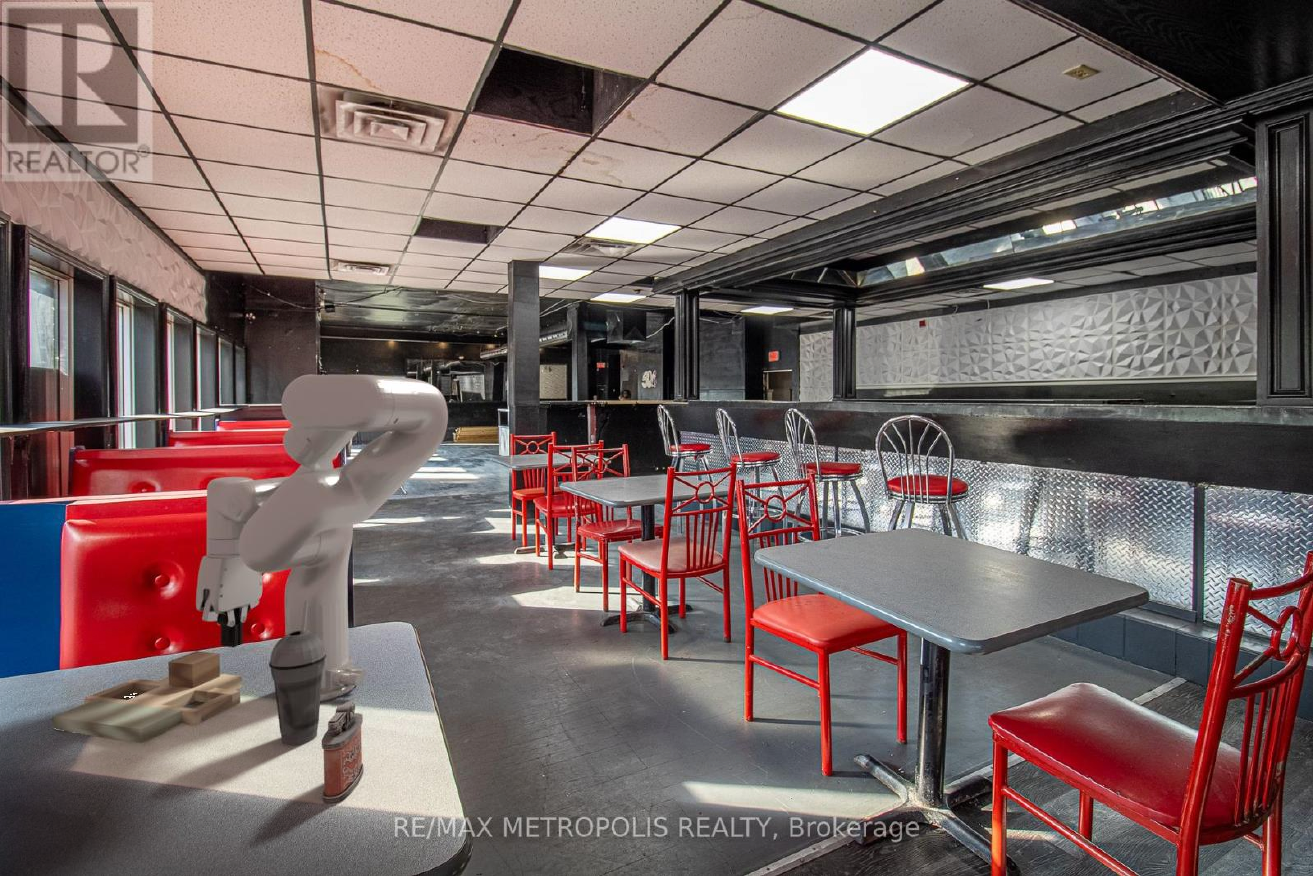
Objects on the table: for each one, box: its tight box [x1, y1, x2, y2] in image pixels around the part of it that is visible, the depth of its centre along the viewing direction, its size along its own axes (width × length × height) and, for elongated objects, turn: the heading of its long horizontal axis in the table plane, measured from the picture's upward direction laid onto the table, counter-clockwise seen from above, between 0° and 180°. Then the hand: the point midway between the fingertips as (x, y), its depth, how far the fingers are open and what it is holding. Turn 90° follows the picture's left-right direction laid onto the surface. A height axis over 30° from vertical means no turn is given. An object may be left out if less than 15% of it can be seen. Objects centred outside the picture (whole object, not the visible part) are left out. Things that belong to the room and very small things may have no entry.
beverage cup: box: [268, 601, 326, 746], centre depth 93 cm, size 7×7×20 cm
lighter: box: [321, 700, 365, 806], centre depth 81 cm, size 8×3×10 cm, turn 5°
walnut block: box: [168, 650, 221, 688], centre depth 109 cm, size 5×5×4 cm
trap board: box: [52, 673, 243, 744], centre depth 103 cm, size 22×19×2 cm
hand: (231, 645), depth 117 cm, fingers closed
